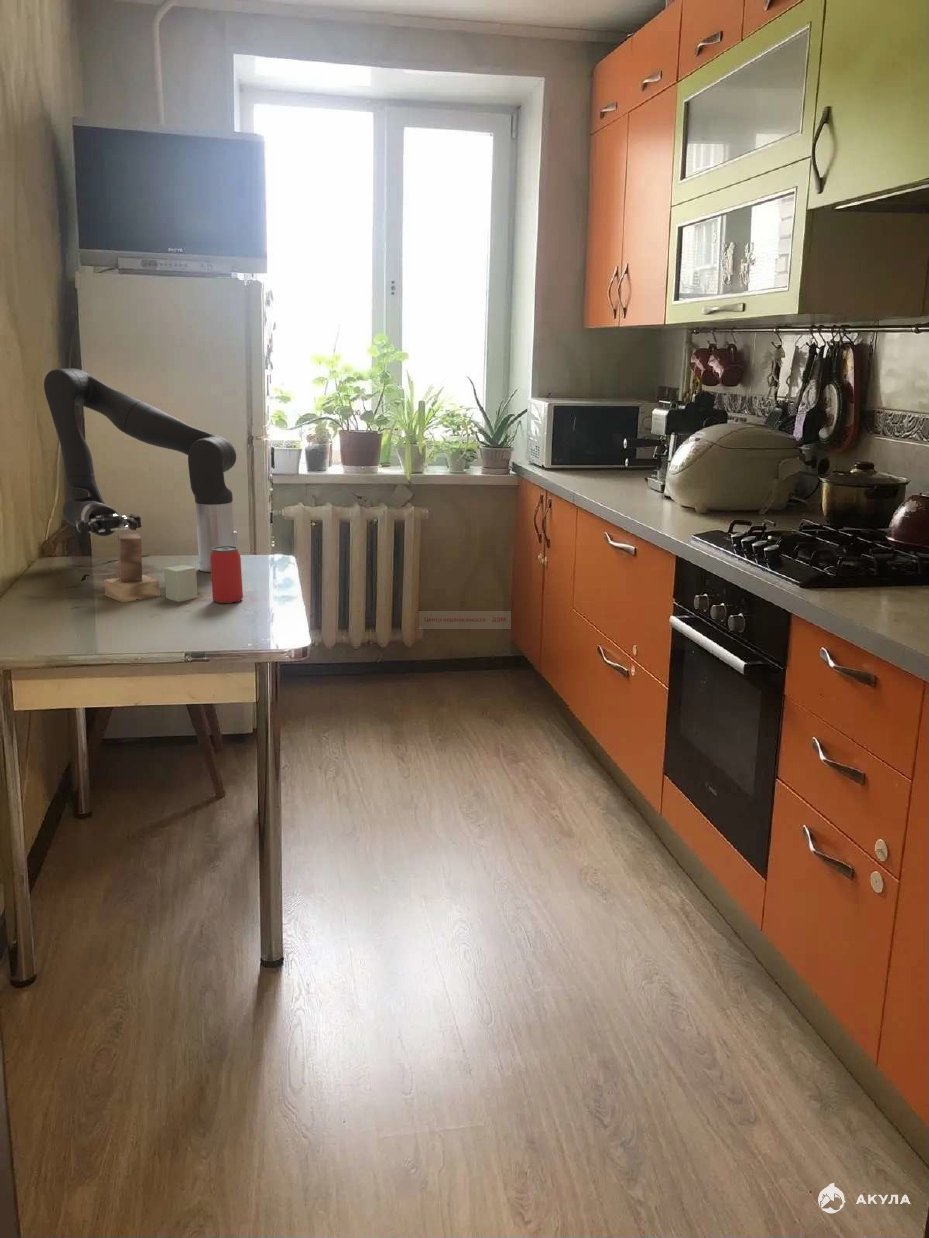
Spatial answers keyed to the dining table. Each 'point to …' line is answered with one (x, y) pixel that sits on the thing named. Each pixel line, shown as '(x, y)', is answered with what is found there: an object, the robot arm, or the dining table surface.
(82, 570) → the dining table surface
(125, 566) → the walnut pillar
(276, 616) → the dining table surface
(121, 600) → the oak base block
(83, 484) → the robot arm
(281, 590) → the dining table surface
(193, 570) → the sage green block
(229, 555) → the beer can
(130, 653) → the dining table surface
